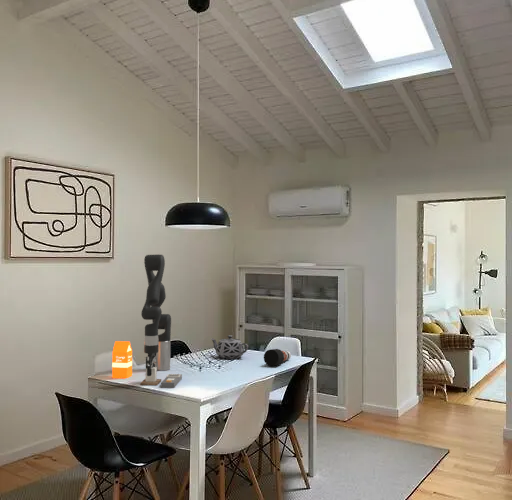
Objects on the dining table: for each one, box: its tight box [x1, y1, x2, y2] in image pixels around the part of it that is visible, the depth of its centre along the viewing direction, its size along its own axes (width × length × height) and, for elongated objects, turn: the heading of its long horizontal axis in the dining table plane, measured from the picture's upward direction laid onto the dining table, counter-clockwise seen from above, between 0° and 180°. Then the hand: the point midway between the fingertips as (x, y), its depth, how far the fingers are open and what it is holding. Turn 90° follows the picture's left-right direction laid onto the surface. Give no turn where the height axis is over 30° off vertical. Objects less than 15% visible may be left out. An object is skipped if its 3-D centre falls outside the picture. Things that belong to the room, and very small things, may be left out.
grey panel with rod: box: [160, 373, 183, 389], centre depth 300 cm, size 30×7×3 cm, turn 177°
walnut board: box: [139, 378, 162, 386], centre depth 296 cm, size 10×9×1 cm
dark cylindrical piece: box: [263, 348, 292, 367], centre depth 358 cm, size 10×34×10 cm, turn 157°
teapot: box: [210, 334, 249, 360], centre depth 376 cm, size 19×31×15 cm, turn 60°
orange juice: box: [111, 340, 133, 379], centre depth 312 cm, size 8×9×20 cm
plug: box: [145, 365, 158, 382], centre depth 296 cm, size 4×5×8 cm
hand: (151, 374), depth 296 cm, fingers open, 8 cm apart
